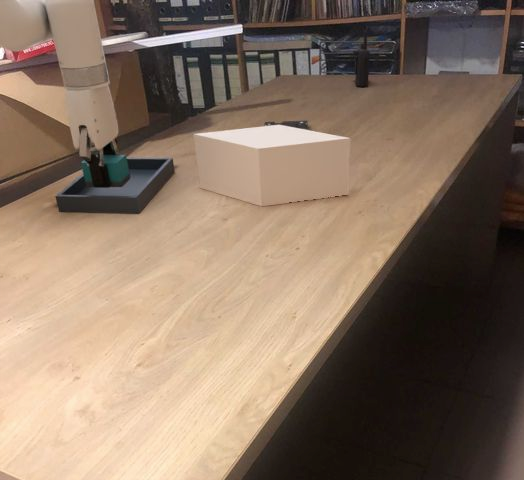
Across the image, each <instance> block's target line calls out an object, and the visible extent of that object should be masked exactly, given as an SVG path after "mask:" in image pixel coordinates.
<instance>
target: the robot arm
mask: <svg viewBox="0 0 524 480" xmlns="http://www.w3.org/2000/svg"><path fill="white" fill-rule="evenodd" d="M50 41H53V45H54V48H55V52H56V56H57V61H58V66H59V69H60V73H61V79H62V82H63V86H64V89H65V91H64V92H65V104H66V112H67V119H68V124H69V125H68V126H69V129H70V135H71V139H72V144H73V147H74V149H75V150H76V151H78V152H79V154H78V155H79V157H80V158H82V159H83V161H84V160H85V161H86V162H87V166H88V167H89V169H90V173H91V177H92V182H93V186H94V187H95V188H109V187H110V186H111V183H110V179H109V174H108V169H107V165H104V158H103V155H119V149H118V145H117V143H118V135H119V131H120V130H119V124H118V123H119V122H118V118H117V114H116V108H115V103H114V102H113V97H112V93H111V90H110V86H109V85H110V84H111V81H110V78H109V72H108V67H107V62H106V56H105V52H104V46H103V42H102V41H103V40H102V37H101V31H100V25H99V20H98V15H97V11H96V6H95V1H94V0H0V47H1V48H3V49H5V50H6V51H9V52H22V51H26V50H29V49H31V48H34V47H35V46H38V45H39V46H40V45H41V44H44V43H47V42H50ZM91 145H94V147H91ZM95 153H97V154H95ZM96 155H98V157H97V156H96Z"/></svg>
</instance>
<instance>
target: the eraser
mask: <svg viewBox="0 0 524 480" xmlns="http://www.w3.org/2000/svg"><path fill="white" fill-rule="evenodd" d="M95 155H96V156H97V157H98V155H97V154H95ZM103 158H104V165H107V169H108V174H109V179H110V183H111V186H110V187H123V186H124V185H125V184H126V183H127V182H128V181H129V180H130V179H131V178H130V174H129V168H128V163H127V158H128V157H127V155H126V154H118V155H103ZM80 165H81V170H82V174H84V179H85V183H86V187H94V186H93V182H92V177H91V173H90V169H89V167H88V166H87V162H86V161H85V160H84V159H83V160H82V161H81V162H80Z"/></svg>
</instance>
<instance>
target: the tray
mask: <svg viewBox="0 0 524 480" xmlns="http://www.w3.org/2000/svg"><path fill="white" fill-rule="evenodd" d="M126 158H127V163H128V168H129V174H130V178H131V179H130V180H129V181H128V182H127V183H126V184H125V185H124V186H123V187H109V188H95V187H86V183H85V179H84V174H83V173H81V174H80V175H79V176H78V177H76V178H75V179H74V180H73V181H72V182H70V183H69V184H68V185H66V186H65V187H64V188H63V189H62V190H61V191H59V192H58V193H57V194H55V195H54V196H55V201H56V206H57V209H58V212H60V213H92V214H93V213H95V214H96V213H98V214H101V213H102V214H131V215H133V214H135V215H136V214H137V215H139V214H140V213H141V212H142V211H143V210H144V208H146V206H147V205H148V204H149V203H150V202H151V200H152V199H153V198H154V197H155V196H156V195H157V194H158V192H159V191H160V190H161V189H162V188H163V187H164V185H165V184H166V183H167V182H168V181H169V180H170V179H171V177H173V175H174V174H175V173H176V172H175V164H174V158H173V157H126Z"/></svg>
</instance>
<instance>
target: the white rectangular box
mask: <svg viewBox="0 0 524 480" xmlns="http://www.w3.org/2000/svg"><path fill="white" fill-rule="evenodd" d="M193 142H194V150H195V151H194V152H195V157H196V159H195V160H196V167H197V168H196V169H197V176H198V184H199V188H200V189H203V190H205V191H209V192H211V193H216V194H218V195H222V196H224V197H225V196H226V197H229V198H233V199H235V200H239V201H243V202H246V203H248V204H252V205H256V206H259V207H267V206H276V205H283V204H290V203H289V202H292V203H298V202H297V201H300V202H305V201H304V200H308V201H314V200H313V199H316V200H322V198H324V199H329V198H330V197H331V198H336V197H335V196H339V197H343V196H342V195H347V196H349V195H350V194H349V193H350V163H351V161H350V160H351V137H346V136H341V135H335V134H330V133H325V132H321V131H314V130H310V129H308V130H305V129H299V128H294V127H289V126H284V125H272V126H264V125H263V126H255V127H254V126H253V127H245V128H236V129H225V130H217V131H208V132H200V133H193ZM328 197H329V198H328ZM331 198H330V199H331Z"/></svg>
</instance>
